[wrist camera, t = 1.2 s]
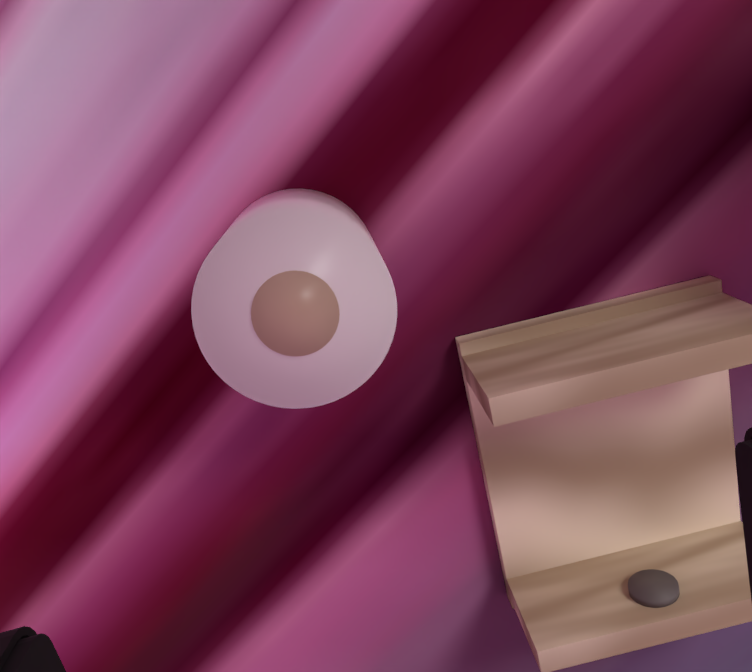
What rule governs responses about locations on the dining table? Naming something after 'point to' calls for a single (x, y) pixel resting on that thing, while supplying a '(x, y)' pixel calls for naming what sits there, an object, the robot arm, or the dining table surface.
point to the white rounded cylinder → (294, 301)
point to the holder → (615, 468)
